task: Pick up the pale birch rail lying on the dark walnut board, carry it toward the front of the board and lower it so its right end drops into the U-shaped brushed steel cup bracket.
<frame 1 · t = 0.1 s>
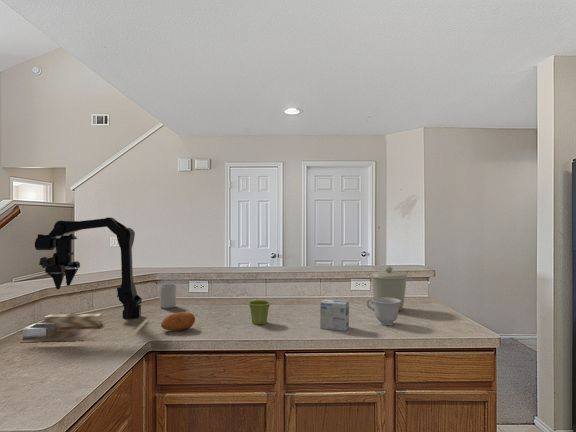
hand: (63, 287, 163), 15 cm above the worktop, tool pointing down, fingers open, 9 cm apart
teacup: (382, 323, 164), on the worktop
light bulb box: (334, 328, 156), on the worktop
potato: (178, 330, 152), on the worktop
rail: (73, 325, 152), point 1 cm above the worktop, touching mounting board
mounting board: (65, 333, 147), on the worktop
can: (167, 307, 192), on the worktop
plant pot: (259, 323, 163), on the worktop
canister: (388, 309, 190), on the worktop
cup bracket: (40, 334, 140), resting on mounting board
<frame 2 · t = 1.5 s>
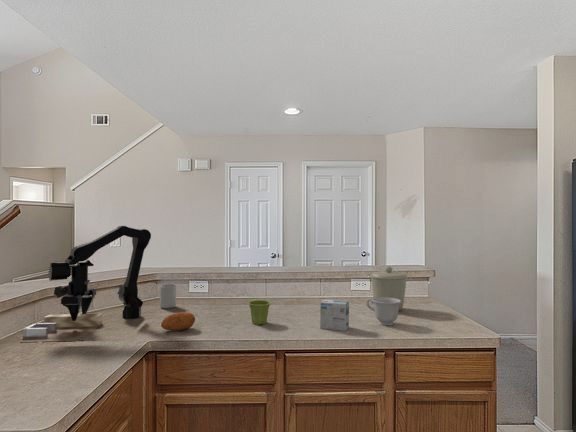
hand: (79, 317, 152), 4 cm above the worktop, tool pointing down, fingers open, 9 cm apart
nothing on the worktop moved.
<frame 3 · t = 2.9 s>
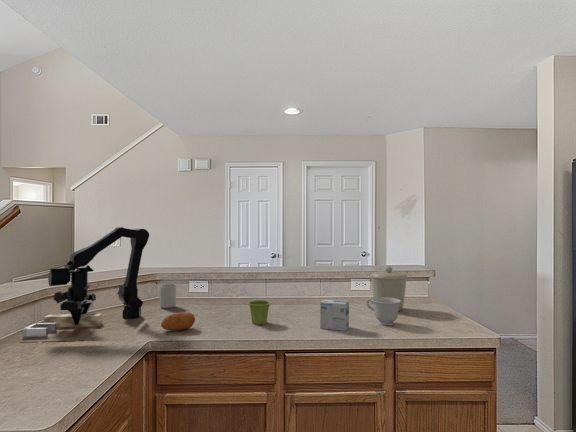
hand: (78, 323, 152), 2 cm above the worktop, tool pointing down, fingers closed on rail, 4 cm apart
rail: (73, 325, 152), point 1 cm above the worktop, touching gripper, mounting board
everything else where it was.
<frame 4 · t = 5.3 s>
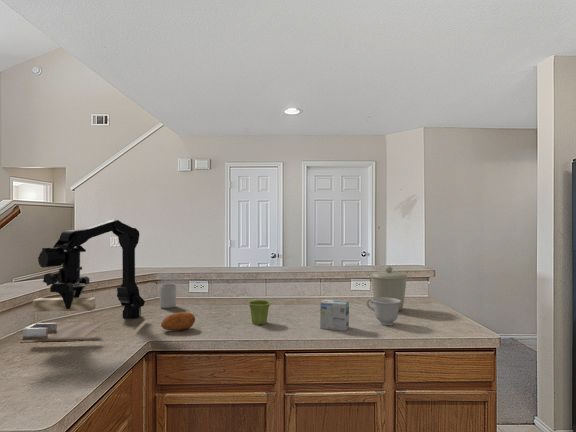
hand: (70, 307, 142), 11 cm above the worktop, tool pointing down, fingers closed on rail, 4 cm apart
rail: (64, 309, 142), point 10 cm above the worktop, touching gripper
everything else where it was.
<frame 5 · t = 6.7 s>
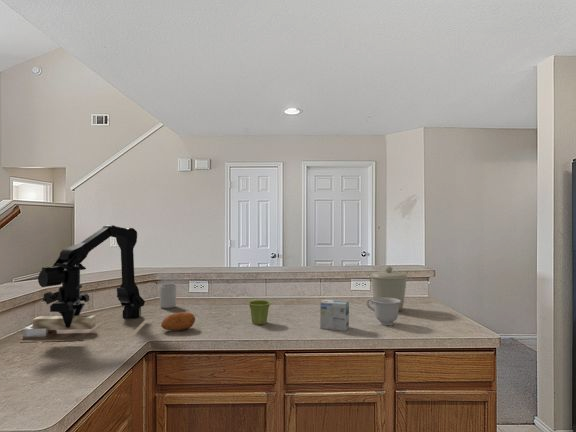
hand: (70, 325, 142), 4 cm above the worktop, tool pointing down, fingers closed on rail, 4 cm apart
rail: (64, 328, 141), point 3 cm above the worktop, touching gripper
everything else where it was.
when the fingers open (3 cm above the worktop, at t = 7.7 s): rail drops 1 cm, resting on mounting board.
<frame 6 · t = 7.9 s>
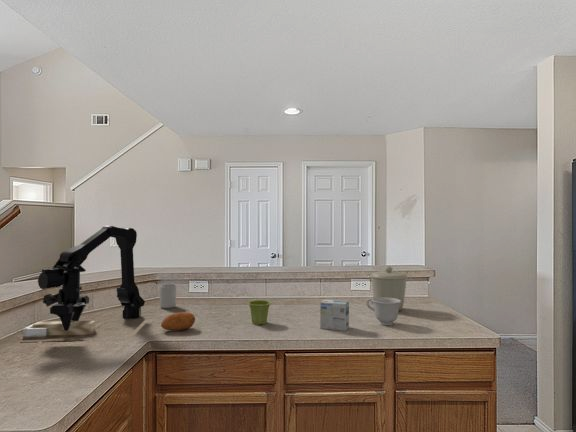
hand: (70, 327, 142), 3 cm above the worktop, tool pointing down, fingers open, 6 cm apart
rail: (64, 333, 141), point 1 cm above the worktop, touching mounting board
everything else where it was.
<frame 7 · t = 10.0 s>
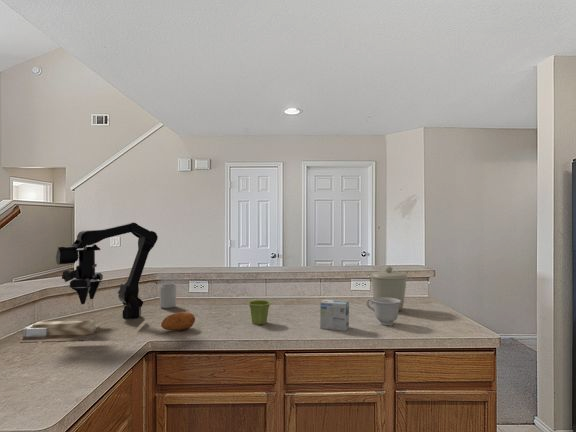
hand: (87, 301, 154), 11 cm above the worktop, tool pointing down, fingers open, 9 cm apart
nothing on the worktop moved.
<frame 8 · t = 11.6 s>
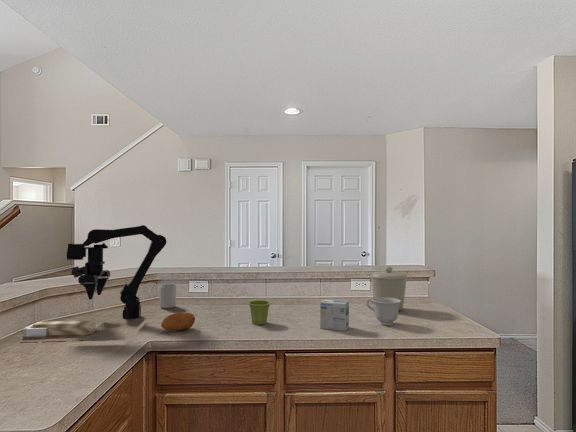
hand: (94, 297, 161), 11 cm above the worktop, tool pointing down, fingers open, 9 cm apart
nothing on the worktop moved.
at the end: rail 1.6 cm from the target spot on the worktop beside the cup bracket, resting on mounting board; rail tilted 0°; the gripper is holding nothing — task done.
